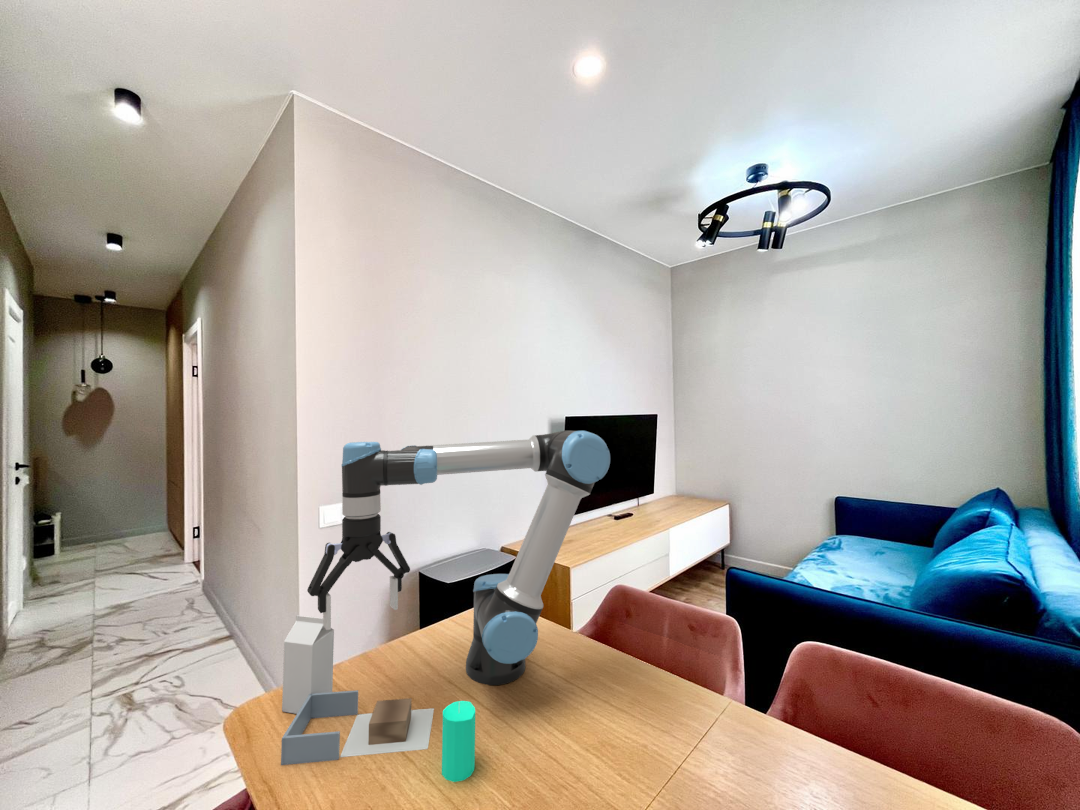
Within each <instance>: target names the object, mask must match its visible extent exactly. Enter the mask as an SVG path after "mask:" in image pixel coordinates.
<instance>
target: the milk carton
mask: <svg viewBox="0 0 1080 810" xmlns="http://www.w3.org/2000/svg"><path fill="white" fill-rule="evenodd" d="M334 639H335V629H333V628H332V627H331V629H329V630H326V629H325V627H324V626H323V617H315V616H307V615H306V616H304V615H296V617H295V622H294V624H293V625H292V627H291V629H290V630H289V632H288V634H287V635H286V637H285V639H284V640H283V663H282V664H283V665H282V667H283V668H282V669H283V671H282V696H281V697H282V699H281V700H282V702H281V710H282V712H284V713H290V714H296V715H297V713H298V712H299V710H300V708H301V707H302V705H303V704H304V702H305V700H306V699H307V697H308V696H309V694H314V693H328V692H333V685H334V684H333V680H334V678H333V676H334V649H335V648H334V646H335V645H334V643H335V642H334Z"/></svg>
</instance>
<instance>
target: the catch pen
mask: <svg viewBox="0 0 1080 810" xmlns="http://www.w3.org/2000/svg"><path fill="white" fill-rule="evenodd" d="M358 713H359V690H344V691H332V692H328V693H314V694H309V696H308V697H307V699H306V700H305V702H304V704H303V705H302V707H301V708H300V710H299V712H298V713H297V714H296V715H295V717H294V718H293V720H291V723H290V725H289V726H288V727H287V729H286V731H285V732H284V733H283V736H282V737H281V749H280V750H281V751H280V753H281V755H280V766H286V765H287V766H288V765H297V764H308V763H309V764H310V763H319V762H331V761H339V760H340V744H341V742H340V741H341V740H340V739H341V731H339V730H338V731H329V732H327V731H326V732H315V733H304V731H305V730H306V728H307V727H308V724H309V722H310V721H311V719H320V718H322V719H323V718H333V717H334V718H335V717H346V716H347V717H348V716H354V715H355V716H357V715H358ZM303 733H304V734H303Z"/></svg>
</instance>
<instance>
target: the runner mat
mask: <svg viewBox="0 0 1080 810" xmlns="http://www.w3.org/2000/svg"><path fill="white" fill-rule="evenodd" d="M434 710H435V708H433V707H432V708H422V709H411V721H410V725H409V729H408V734H407V738H406V742H396V743H385V744H374V745H368V740H369V722H370V719H371V717H372V714H373V712H371V713H370V712H369V713H361V714H357V715H356V717H355V719H354V722H353V725H352V727H351V729H350V731H349V735H348V737H347V739H346V740H345V744H344V745H343V748H342V751H341V753H340V754H339V758H346V757H358V756H360V757H361V756H368V755H369V756H370V755H379V754H389V753H401V752H411V751H412V752H413V751H421V750H428V749H429V743H430V738H431V737H430V736H431V733H432V732H431V731H432V723H433V716H434V712H435V711H434Z"/></svg>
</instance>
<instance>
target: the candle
mask: <svg viewBox="0 0 1080 810" xmlns="http://www.w3.org/2000/svg"><path fill="white" fill-rule="evenodd" d="M441 731H442V733H441V734H442V736H441V741H442V742H441V745H442V746H441V747H442V748H441V750H442V751H441V775H442V777H444V779H445V780H446V781H450V782H453V783H457V782H462V781H465V780H466V779H468V778H469V777H471V776H472V775H473V773H474V771H475V767H476V766H475V762H476V760H475V759H476V753H475V752H476V707H475V706H474V705H473V703H472V702H471V701H467V700H458V701H454V702H452V703H450V704H448V705H447V706H446V707H445V708H444V709H443V710H442V730H441Z"/></svg>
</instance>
